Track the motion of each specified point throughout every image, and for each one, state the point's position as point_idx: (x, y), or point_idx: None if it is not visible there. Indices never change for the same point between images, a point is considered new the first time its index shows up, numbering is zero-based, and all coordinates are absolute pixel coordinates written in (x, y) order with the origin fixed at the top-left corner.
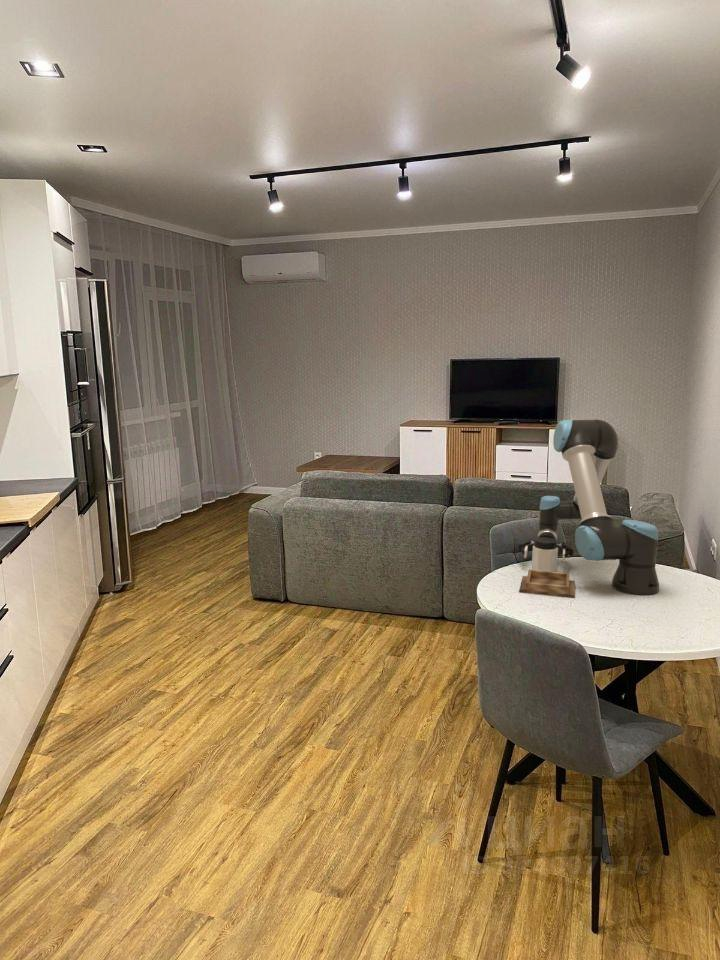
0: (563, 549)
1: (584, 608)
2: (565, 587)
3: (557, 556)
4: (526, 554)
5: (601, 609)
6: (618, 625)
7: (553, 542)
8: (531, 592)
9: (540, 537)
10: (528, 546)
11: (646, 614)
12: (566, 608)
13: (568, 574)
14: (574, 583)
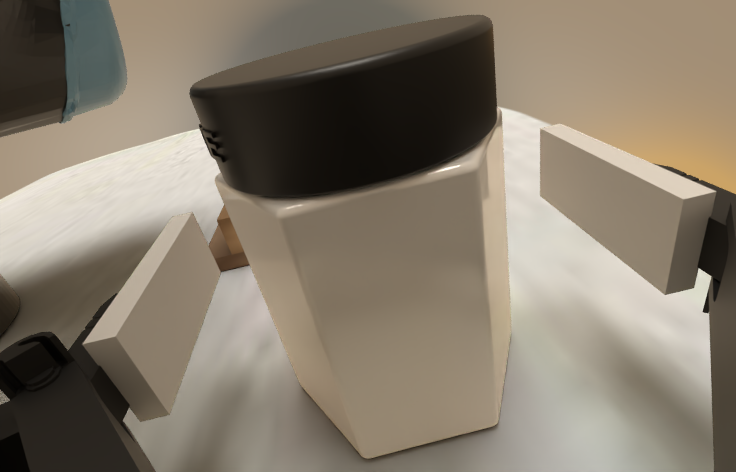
0: (119, 322)
1: None
2: None
3: (250, 266)
4: (553, 182)
5: (183, 180)
6: (176, 157)
7: (249, 63)
8: None
9: (436, 33)
10: (728, 258)
11: (70, 206)
12: None
13: (226, 210)
14: (213, 239)
